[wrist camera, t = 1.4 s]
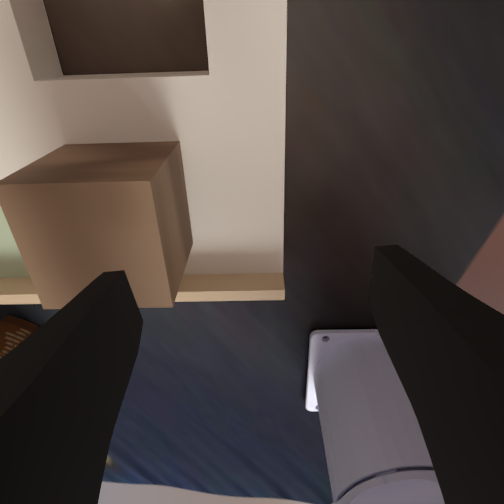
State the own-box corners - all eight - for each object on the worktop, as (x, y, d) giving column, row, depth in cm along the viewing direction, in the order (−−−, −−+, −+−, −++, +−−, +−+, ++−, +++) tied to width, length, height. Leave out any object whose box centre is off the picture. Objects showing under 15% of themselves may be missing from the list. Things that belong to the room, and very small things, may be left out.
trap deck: (285, -198, 12) (299, -327, 8) (280, 257, 21) (285, 313, 17) (-285, -168, 13) (-561, -272, 8) (-51, 263, 22) (-126, 319, 18)
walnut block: (179, 140, 16) (149, 180, 11) (193, 242, 18) (173, 307, 14) (64, 144, 16) (-9, 185, 11) (94, 244, 18) (43, 309, 14)
